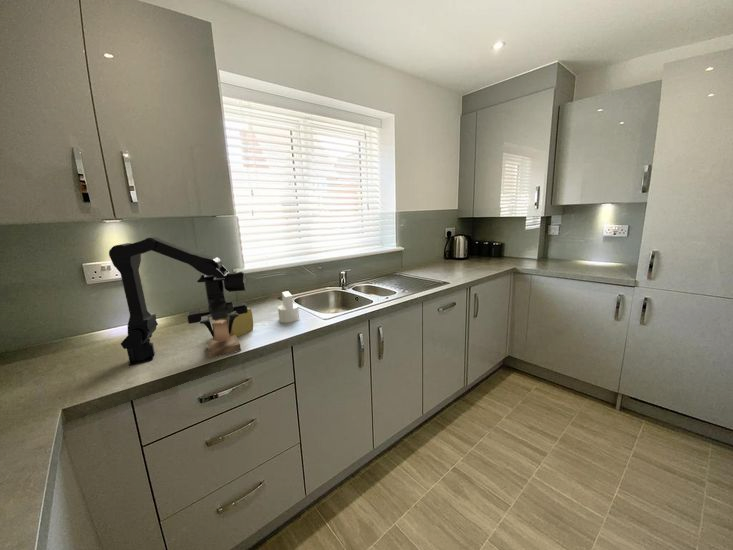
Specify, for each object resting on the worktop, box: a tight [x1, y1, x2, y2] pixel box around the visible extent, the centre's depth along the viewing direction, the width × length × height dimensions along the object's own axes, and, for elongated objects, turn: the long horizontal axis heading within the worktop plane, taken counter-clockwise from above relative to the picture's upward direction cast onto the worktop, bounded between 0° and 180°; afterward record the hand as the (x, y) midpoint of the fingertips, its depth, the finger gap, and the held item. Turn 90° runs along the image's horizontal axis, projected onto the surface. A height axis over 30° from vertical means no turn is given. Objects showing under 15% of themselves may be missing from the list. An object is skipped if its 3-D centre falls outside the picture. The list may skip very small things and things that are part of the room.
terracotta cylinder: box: [211, 320, 230, 341], centre depth 106 cm, size 5×5×6 cm
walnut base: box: [206, 335, 242, 359], centre depth 107 cm, size 10×10×3 cm
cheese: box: [214, 305, 254, 338], centre depth 121 cm, size 10×11×10 cm
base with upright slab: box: [277, 290, 300, 324], centre depth 134 cm, size 9×9×12 cm
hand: (221, 334), depth 107 cm, fingers closed on terracotta cylinder, 5 cm apart
